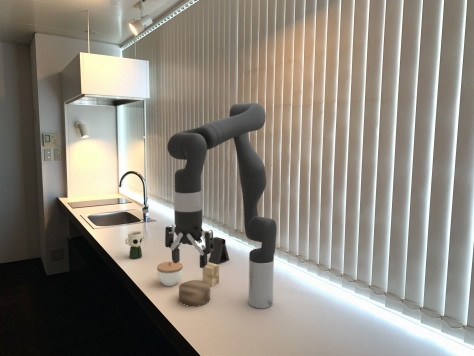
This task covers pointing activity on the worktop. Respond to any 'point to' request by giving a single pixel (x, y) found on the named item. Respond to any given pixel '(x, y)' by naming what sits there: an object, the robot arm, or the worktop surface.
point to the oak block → (211, 274)
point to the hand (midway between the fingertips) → (189, 264)
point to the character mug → (135, 243)
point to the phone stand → (219, 251)
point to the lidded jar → (169, 272)
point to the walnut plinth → (194, 293)
